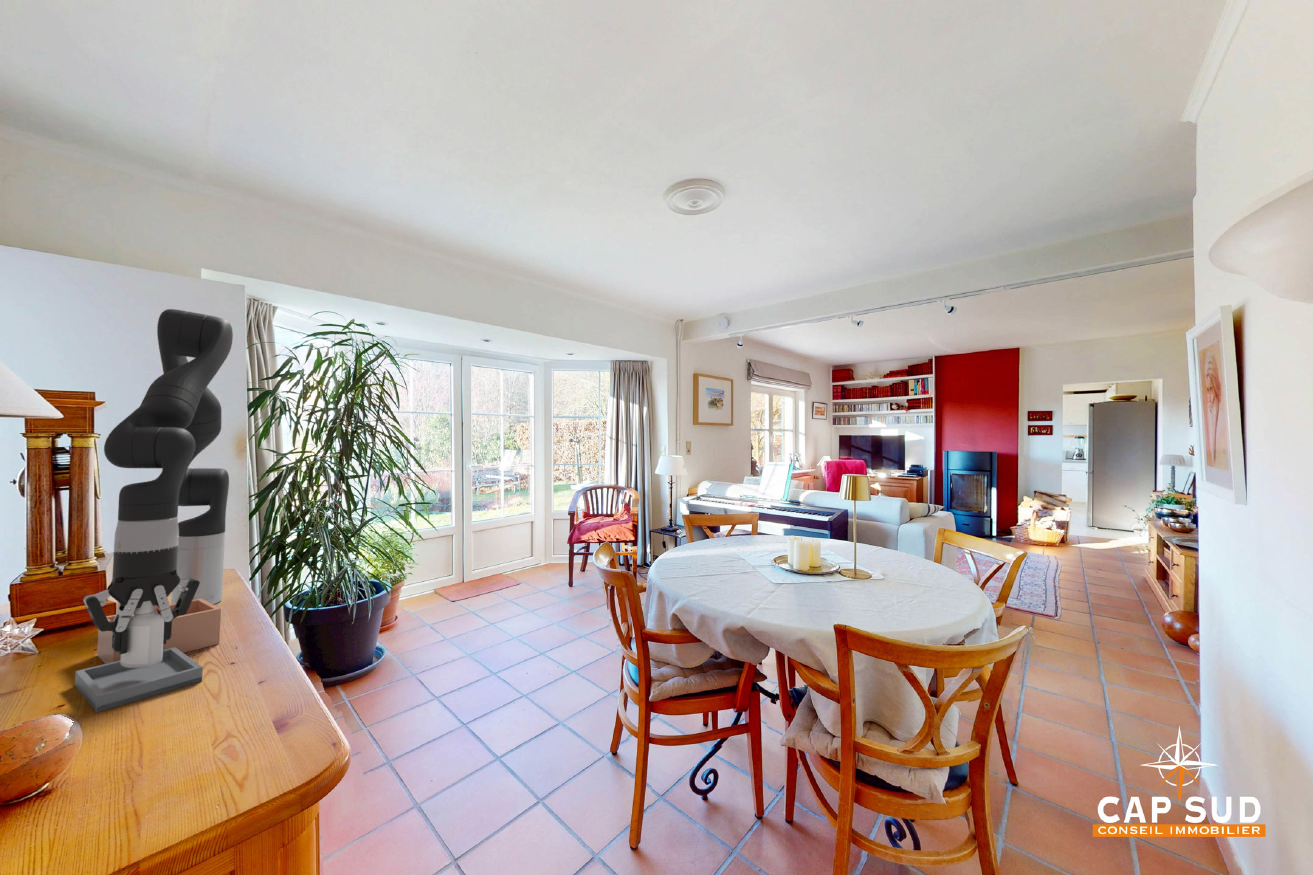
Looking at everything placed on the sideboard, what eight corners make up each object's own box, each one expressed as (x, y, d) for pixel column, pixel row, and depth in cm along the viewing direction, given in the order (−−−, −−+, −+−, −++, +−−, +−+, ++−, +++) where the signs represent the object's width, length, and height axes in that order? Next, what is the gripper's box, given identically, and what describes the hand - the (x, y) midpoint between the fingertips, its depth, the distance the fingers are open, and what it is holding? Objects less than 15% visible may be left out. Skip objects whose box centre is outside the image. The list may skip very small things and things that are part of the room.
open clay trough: (97, 655, 92) (99, 617, 92) (199, 631, 104) (201, 598, 104) (112, 670, 86) (114, 630, 86) (219, 643, 98) (220, 608, 99)
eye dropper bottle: (126, 673, 79) (130, 598, 79) (118, 663, 82) (122, 591, 82) (164, 663, 82) (168, 592, 83) (155, 655, 86) (159, 585, 86)
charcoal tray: (74, 685, 81) (75, 671, 81) (174, 659, 91) (175, 646, 91) (96, 712, 73) (97, 696, 73) (201, 681, 83) (202, 666, 84)
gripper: (195, 536, 91) (190, 630, 90) (77, 549, 78) (71, 657, 78) (210, 541, 87) (205, 639, 86) (88, 555, 74) (82, 669, 74)
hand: (141, 647), depth 82 cm, fingers closed on eye dropper bottle, 4 cm apart
